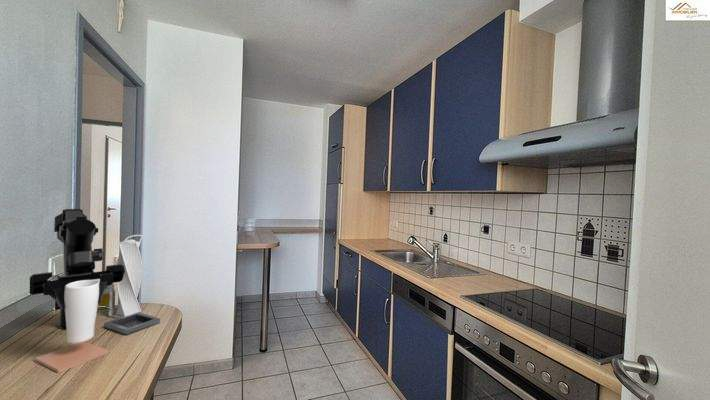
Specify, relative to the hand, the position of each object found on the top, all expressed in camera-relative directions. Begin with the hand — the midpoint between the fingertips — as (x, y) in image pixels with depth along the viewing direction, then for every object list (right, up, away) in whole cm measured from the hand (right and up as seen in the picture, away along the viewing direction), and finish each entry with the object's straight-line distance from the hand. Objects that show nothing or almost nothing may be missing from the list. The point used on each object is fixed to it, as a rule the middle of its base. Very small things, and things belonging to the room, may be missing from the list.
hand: (81, 305), depth 77 cm
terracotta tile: (-2, -13, 0) cm, 13 cm away
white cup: (-1, -10, +1) cm, 10 cm away
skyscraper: (-10, -13, +28) cm, 33 cm away
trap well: (-1, -13, +19) cm, 23 cm away
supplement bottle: (-21, -13, +32) cm, 41 cm away
